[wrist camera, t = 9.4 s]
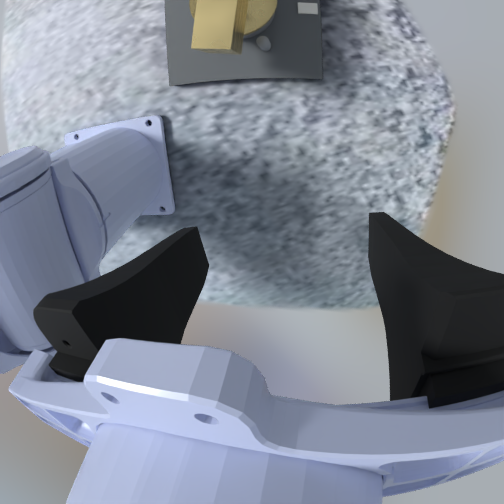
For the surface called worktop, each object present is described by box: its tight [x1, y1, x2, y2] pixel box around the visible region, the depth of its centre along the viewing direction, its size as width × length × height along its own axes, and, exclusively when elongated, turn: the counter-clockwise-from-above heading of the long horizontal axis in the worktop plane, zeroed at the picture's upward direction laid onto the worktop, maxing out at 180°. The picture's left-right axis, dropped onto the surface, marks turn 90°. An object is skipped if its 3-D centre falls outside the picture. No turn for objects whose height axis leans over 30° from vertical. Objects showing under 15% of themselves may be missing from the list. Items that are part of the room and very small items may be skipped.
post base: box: [165, 0, 323, 86], centre depth 13 cm, size 10×10×3 cm
